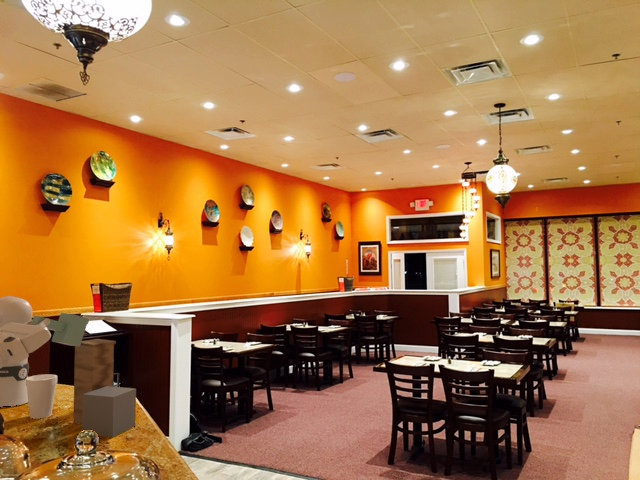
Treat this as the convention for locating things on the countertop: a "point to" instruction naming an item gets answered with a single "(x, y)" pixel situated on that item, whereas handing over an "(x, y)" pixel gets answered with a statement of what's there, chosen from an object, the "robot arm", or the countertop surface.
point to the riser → (109, 410)
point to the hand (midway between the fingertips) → (44, 319)
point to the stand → (91, 370)
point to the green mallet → (66, 328)
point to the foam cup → (41, 395)
